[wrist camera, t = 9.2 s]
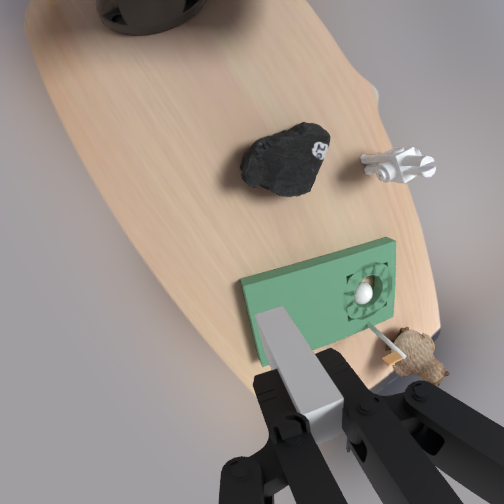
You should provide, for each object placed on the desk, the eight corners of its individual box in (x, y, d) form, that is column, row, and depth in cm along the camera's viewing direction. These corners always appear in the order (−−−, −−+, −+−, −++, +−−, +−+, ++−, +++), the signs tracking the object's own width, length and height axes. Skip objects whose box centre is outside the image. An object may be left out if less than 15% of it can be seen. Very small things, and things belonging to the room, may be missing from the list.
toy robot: (391, 165, 38) (450, 171, 27) (355, 184, 37) (414, 195, 26) (383, 141, 36) (442, 140, 25) (346, 159, 36) (404, 161, 25)
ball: (349, 288, 40) (372, 288, 38) (351, 277, 42) (372, 277, 41) (349, 308, 41) (372, 308, 39) (351, 296, 44) (372, 296, 42)
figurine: (384, 364, 51) (425, 408, 37) (370, 341, 47) (418, 389, 33) (414, 335, 51) (460, 373, 37) (404, 309, 47) (457, 348, 33)
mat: (239, 278, 37) (265, 328, 26) (386, 236, 41) (442, 261, 30) (258, 357, 42) (282, 414, 30) (385, 310, 46) (429, 345, 34)
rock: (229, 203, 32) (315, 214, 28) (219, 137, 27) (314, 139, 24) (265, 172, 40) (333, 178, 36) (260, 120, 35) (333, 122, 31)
